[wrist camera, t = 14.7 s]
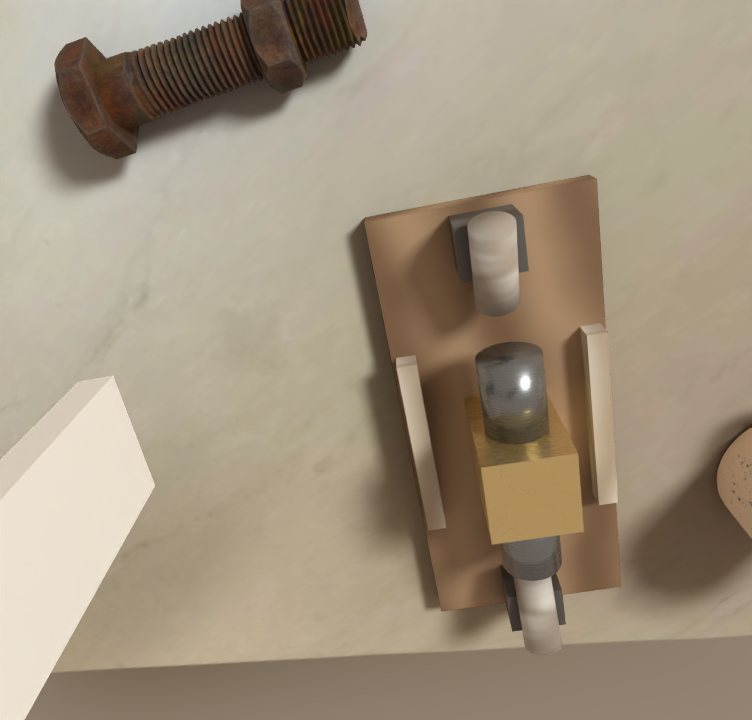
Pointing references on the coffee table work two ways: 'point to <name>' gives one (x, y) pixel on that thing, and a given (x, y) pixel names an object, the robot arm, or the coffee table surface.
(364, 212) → the coffee table surface
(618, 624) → the coffee table surface
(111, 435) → the robot arm
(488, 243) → the coupling cradle
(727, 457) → the teacup with lid
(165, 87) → the bolt
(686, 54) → the coffee table surface
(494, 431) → the universal joint
